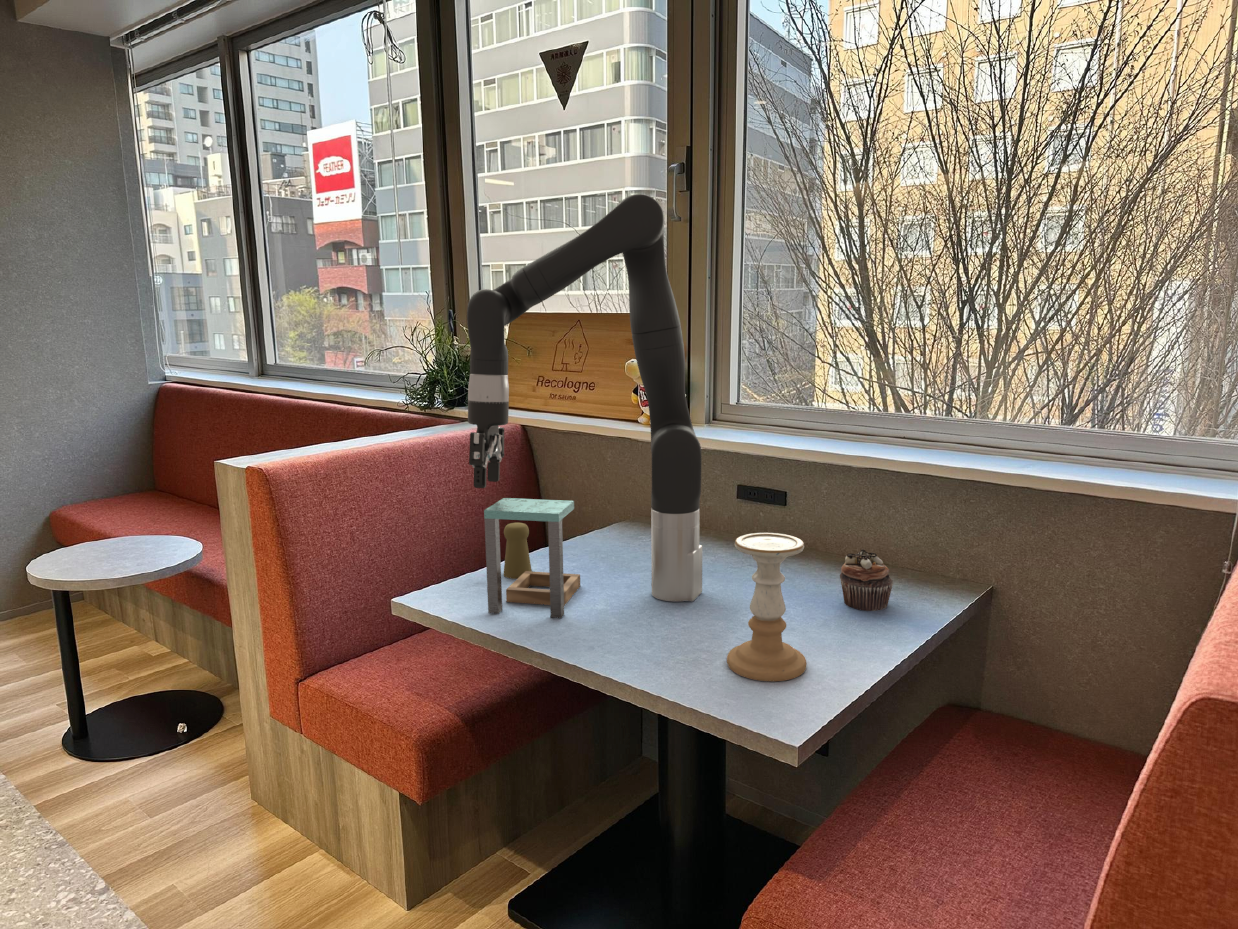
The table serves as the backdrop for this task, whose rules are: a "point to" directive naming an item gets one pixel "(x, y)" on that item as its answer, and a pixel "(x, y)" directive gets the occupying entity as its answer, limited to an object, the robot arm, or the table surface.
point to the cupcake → (865, 582)
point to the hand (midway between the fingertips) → (486, 484)
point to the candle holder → (767, 612)
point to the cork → (516, 550)
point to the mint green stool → (554, 515)
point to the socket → (524, 594)
